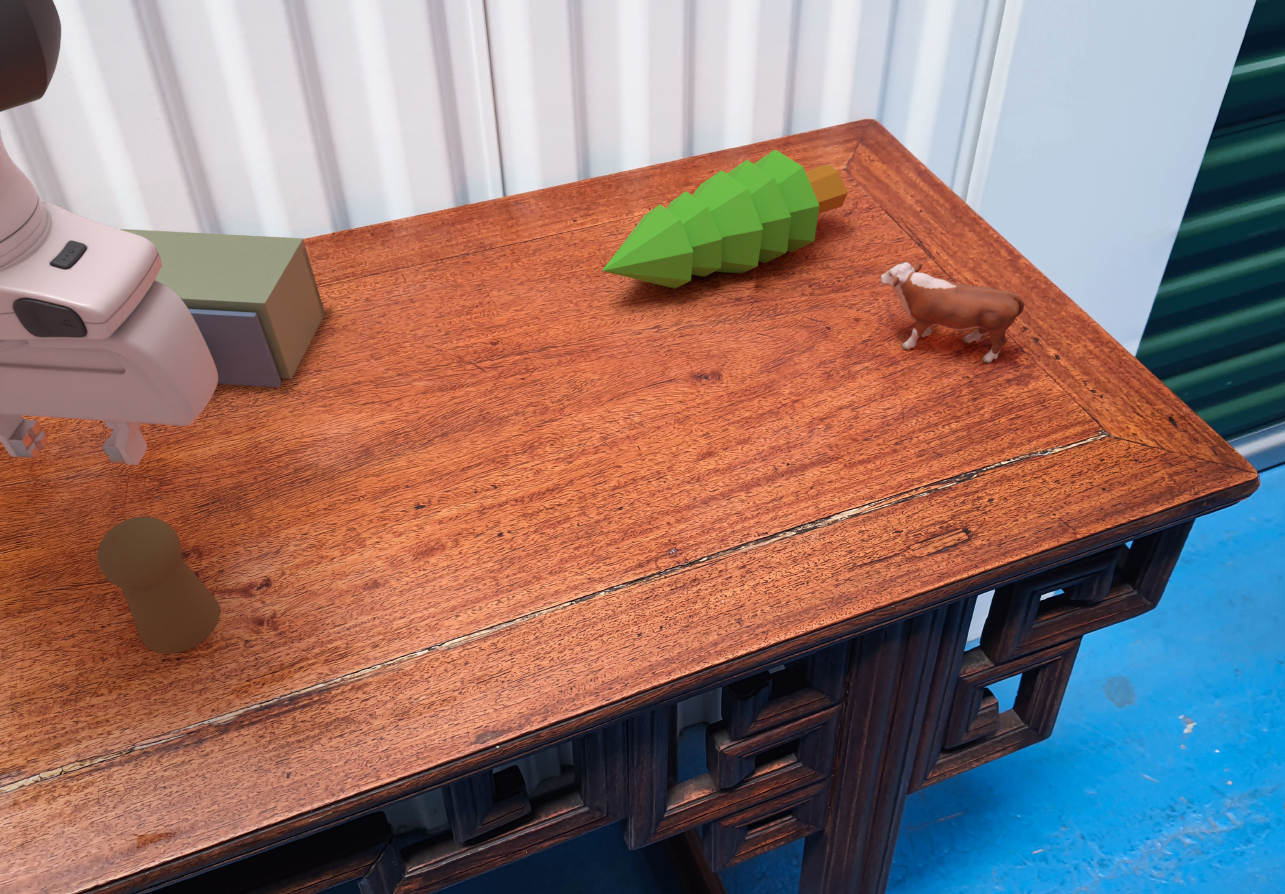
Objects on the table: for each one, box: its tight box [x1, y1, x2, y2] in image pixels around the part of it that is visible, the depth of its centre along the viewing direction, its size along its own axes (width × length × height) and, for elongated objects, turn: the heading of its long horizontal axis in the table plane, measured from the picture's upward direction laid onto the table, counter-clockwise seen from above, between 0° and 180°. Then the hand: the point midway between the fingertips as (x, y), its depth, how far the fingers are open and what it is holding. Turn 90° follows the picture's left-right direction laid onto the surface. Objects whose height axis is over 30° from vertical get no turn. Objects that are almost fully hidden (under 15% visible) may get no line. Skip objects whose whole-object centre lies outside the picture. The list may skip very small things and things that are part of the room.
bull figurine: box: [879, 261, 1025, 364], centre depth 95 cm, size 4×13×8 cm, turn 70°
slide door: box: [188, 309, 283, 388], centre depth 88 cm, size 9×4×8 cm, turn 84°
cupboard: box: [119, 228, 326, 380], centre depth 94 cm, size 18×12×10 cm, turn 84°
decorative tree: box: [601, 149, 848, 289], centre depth 103 cm, size 11×12×30 cm
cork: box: [96, 516, 221, 655], centre depth 71 cm, size 6×6×11 cm
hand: (81, 453), depth 61 cm, fingers open, 5 cm apart
